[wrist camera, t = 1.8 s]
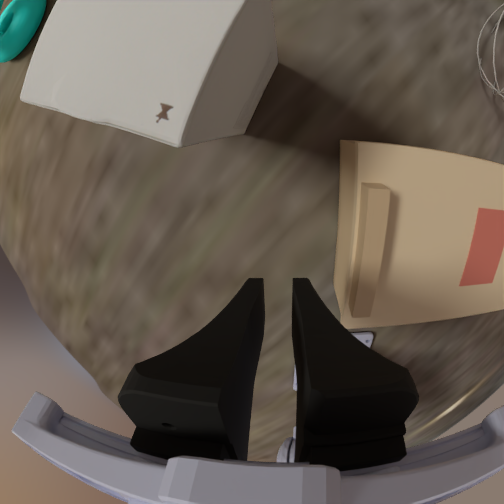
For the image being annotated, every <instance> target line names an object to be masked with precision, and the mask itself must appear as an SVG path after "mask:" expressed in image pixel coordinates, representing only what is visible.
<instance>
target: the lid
mask: <svg viewBox="0 0 504 504" xmlns="http://www.w3.org/2000/svg"><path fill="white" fill-rule="evenodd" d="M502 309H504V165H502V164H498V163H495V162H491V161H487V160H483V159H478V158H474V157H470V156H465V155H460V154H455V153H450V152H444V151H439V150H433V149H426V148H419V147H412V146H404V145H395V144H386V143H375V142H362V141H355V189H354V208H353V223H352V235H351V246H350V255H349V264H348V272H347V280H346V288H345V295H344V301H343V308H342V314H341V320H340V323H341V324H342V325H343V326H344V327H345V328H346V329H353V328H369V327H383V326H394V325H405V324H414V323H423V322H431V321H438V320H446V319H452V318H459V317H465V316H471V315H477V314H482V313H487V312H493V311H498V310H502Z"/></svg>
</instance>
